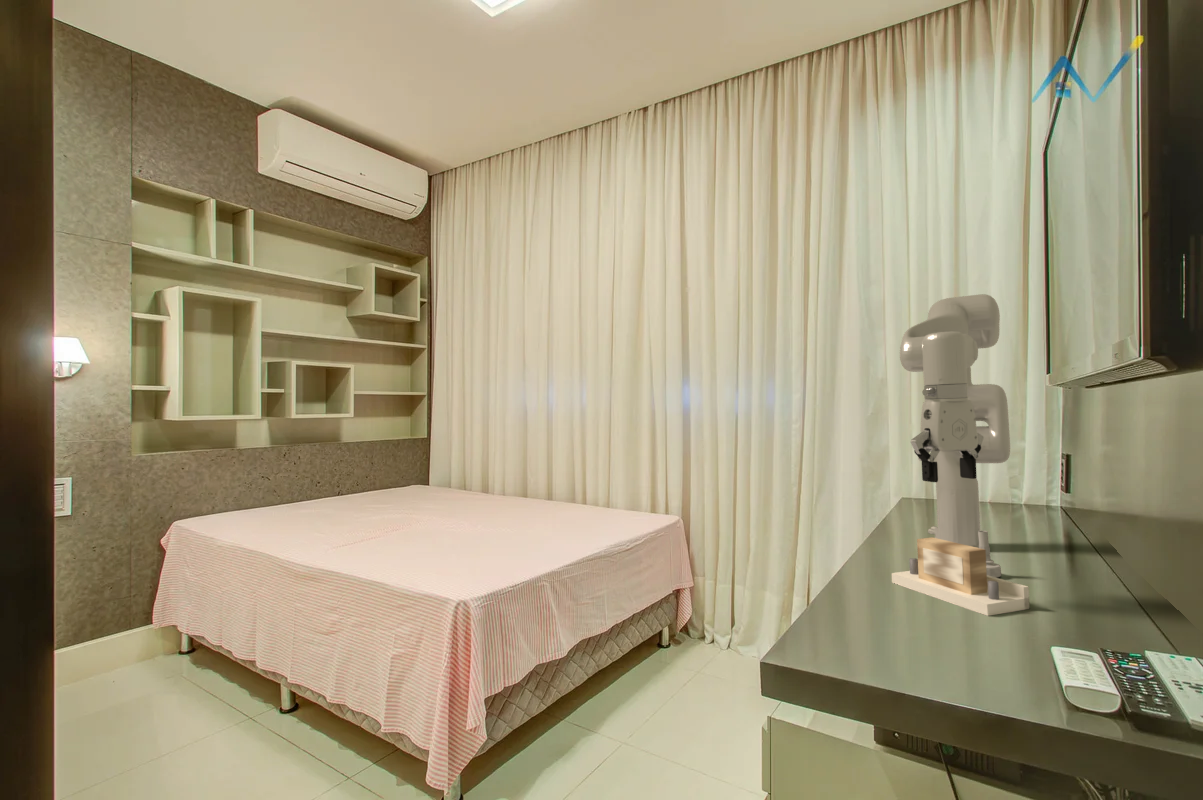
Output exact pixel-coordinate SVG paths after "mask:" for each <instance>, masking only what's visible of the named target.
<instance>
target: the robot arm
mask: <svg viewBox="0 0 1203 800" xmlns="http://www.w3.org/2000/svg"><path fill="white" fill-rule="evenodd" d="M927 313H928V314H927V319H926V320H923V321H921V322H919V323H917V324H916V325H913V326H911V327H909V328H908V329H907V330H906V331H905V332H904V334H903V336H902V337H901V338H902V339H901V344H900V347H899V360H900V363H901V365H902V367H903V368H904V370H906V371H908V372H912V373H919V372H922V374H923V390H922V396H924V398H923V399H924V401H923V402H922V407H921V415H920V433H918V434H917V435H916V436H914V437H913V438H912V439H911V440H910V444H911V446H912V448H913V452H914V454H915V455H916V456H917V457H918V460H919V462H921V475H922V476H921V479H922V481H923V482H928V483H935V489H936V490H935V491H936V511H937V512H936V513H937V514H936V517H937V526H931V527H930V528H928V530H927V533H928V534H931V535H934V538H937V539H942V540H946V541H950V542H955V543H959V544H963V545H968V546H972V547H976V548H979V536H978V531H981V519H980V518H981V515H980V512H981V511H980V493H979V490H980V489H979V480H978V478H977V477H978V476H977V464H1003V463H1005V462H1007V461H1008V460H1009V458H1010V456H1011V455H1010V454H1011V435H1010V421H1009V406H1008V398H1007V395H1006V394H1007V393H1006V392H1005V390H1004V388H1003V387H1001V386H1000V385H998V384H995V383H993V384H992V383H983V384H982V383H981V384H973V383H972V368H971V367H972V366H974V364H975V362H976V361H977V360H978V358H979V349H988V348H992V347H994V346H995V345H996V344H997V343H998V341H999V337H1000V329H1001V328H1000V324H1001V323H1000V321H1001V320H1000V319H1001V318H1000V317H1001V316H1000V308H999V306H998V303H997V300H996V299H995V298H994V297H992V295H989V294H985V293H983V294H972V295H966V296H965V295H963V296H954V297H946V298H943V299H940V300H938V301H935V302H934V303H933V305H931V307H930V308H929V310H928V312H927ZM977 422H984V423H986V424H987V425H988V426H987V425H984V426H983V425H982V426H980V425H979V426H977Z"/></svg>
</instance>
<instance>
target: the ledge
mask: <svg viewBox="0 0 1203 800" xmlns="http://www.w3.org/2000/svg"><path fill="white" fill-rule="evenodd" d="M891 583H892V584H894V583H895V585H897V584H898V585H899V586H901V587H904V588H906V589H910V590H912V591H915V592H918V593H920V594H923V595H927V596H929V597H932V598H935V599H938V600H941V601H944V602H947V603H950V604H953V605H956V606H958V607H961V608H964V609H966V610H969V611H972V612H976V613H979V614H982V615H984V616H987V617H988V616H995V615H1000V614H1007V613H1013V612H1018V611H1025V610H1029V609H1030V591H1029V590H1030V589H1029V588H1030V587H1029V586H1027V585H1024V584H1021V583H1017V582H1014V581H1010V580H1006V579H1003V578H1000V577H997V578H996V577H992V576H988V575H987V593H980V594H974V595H970V594H967V593H964V592H961V591H957V590H954V589H951V588H948V587H945V586H942V585H939V584H935V583H932V582H929V581H926V580H923V579H920V578H919V574H918V558H909V570H905V571H904V570H903V571H897V572H891ZM898 585H897V586H898Z"/></svg>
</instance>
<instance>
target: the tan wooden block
mask: <svg viewBox="0 0 1203 800" xmlns="http://www.w3.org/2000/svg"><path fill="white" fill-rule="evenodd" d="M916 545H917V559H918V574H919V578H920V579H923V580H926V581H929V582H932V583H935V584H939V585H942V586H945V587H948V588H951V589H954V590H957V591H961V592H964V593H967V594H970V595H974V594H980V593H987V570H986V550H985V549H981V548H976V547H972V546H968V545H963V544H959V543H955V542H950V541H946V540H942V539H937V538H935V537H934V536H933V537H926V538H925V537H924V538H917V539H916Z"/></svg>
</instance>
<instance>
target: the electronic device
mask: <svg viewBox="0 0 1203 800" xmlns="http://www.w3.org/2000/svg"><path fill="white" fill-rule="evenodd" d="M978 536H979V548H981V549H985V550H986V570H987V575H988V576H992V577H996V578H1001V576H1002V566H1001V565H1000V564H998V563H995V562H994V560H993V559H991V549H990V547H991V546H990V542H989V532H988V531H987V530H980V531H978Z"/></svg>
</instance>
